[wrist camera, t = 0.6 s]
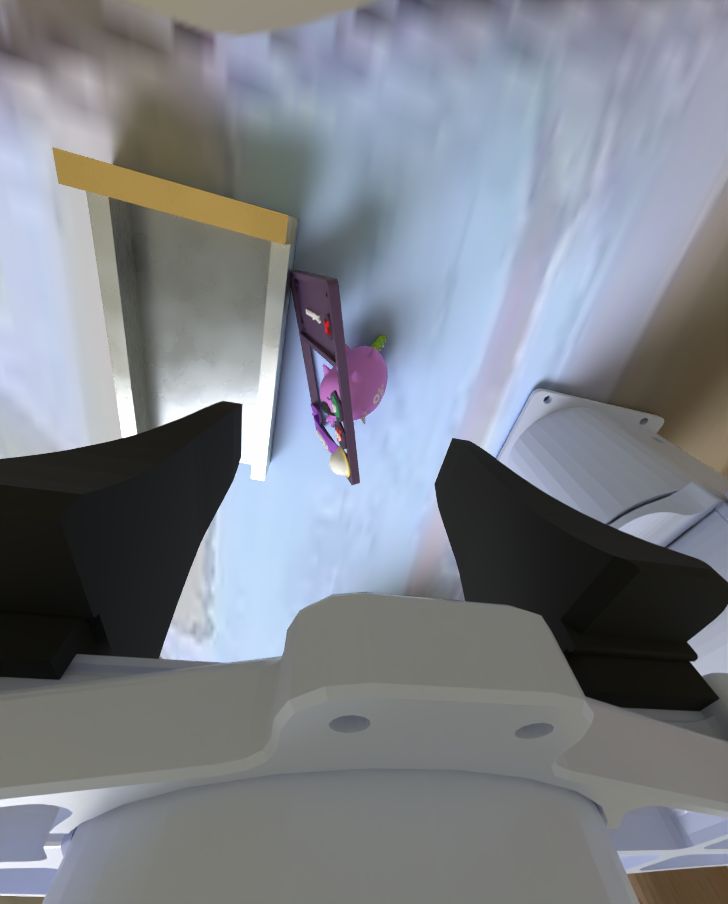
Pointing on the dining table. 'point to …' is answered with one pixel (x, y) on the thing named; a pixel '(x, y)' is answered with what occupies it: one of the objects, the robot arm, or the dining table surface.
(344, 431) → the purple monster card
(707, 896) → the wooden block
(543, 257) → the dining table surface
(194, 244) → the drawer
